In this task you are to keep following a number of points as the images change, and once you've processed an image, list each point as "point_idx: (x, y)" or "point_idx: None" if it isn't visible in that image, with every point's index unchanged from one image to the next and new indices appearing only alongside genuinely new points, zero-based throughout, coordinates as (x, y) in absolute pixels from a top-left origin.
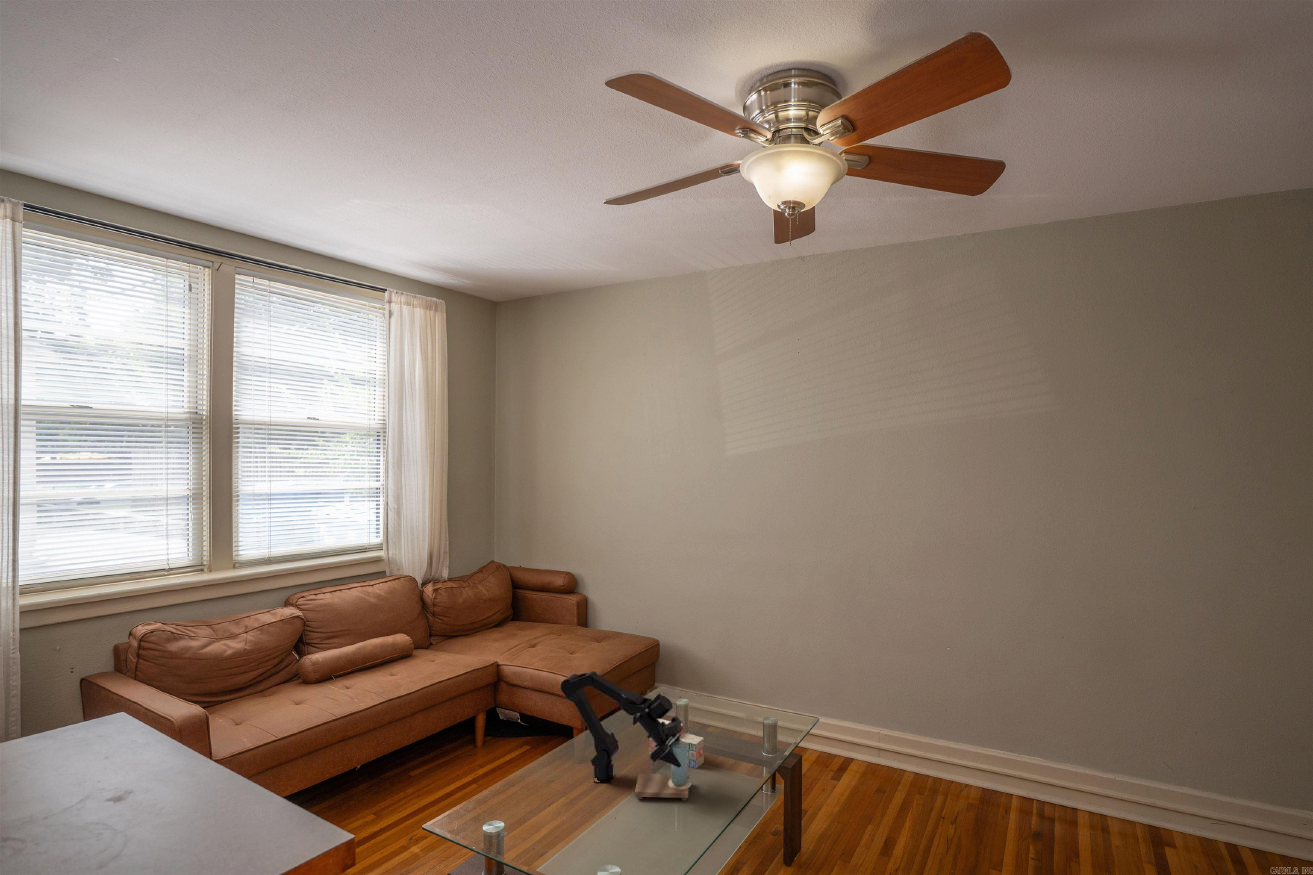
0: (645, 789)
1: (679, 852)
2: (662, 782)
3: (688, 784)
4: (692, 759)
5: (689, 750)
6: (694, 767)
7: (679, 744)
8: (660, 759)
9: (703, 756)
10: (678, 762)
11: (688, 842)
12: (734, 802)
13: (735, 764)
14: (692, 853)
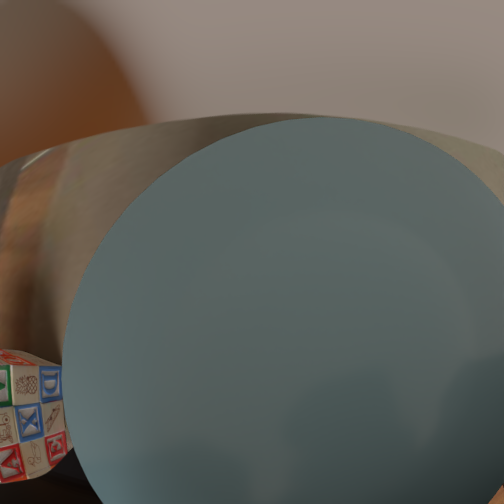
0: None
1: (500, 174)
2: None
3: None
4: (39, 384)
5: (12, 402)
6: (60, 373)
7: (317, 431)
8: None
9: (7, 350)
10: None
11: (474, 167)
12: (230, 125)
13: (14, 240)
14: (483, 149)
